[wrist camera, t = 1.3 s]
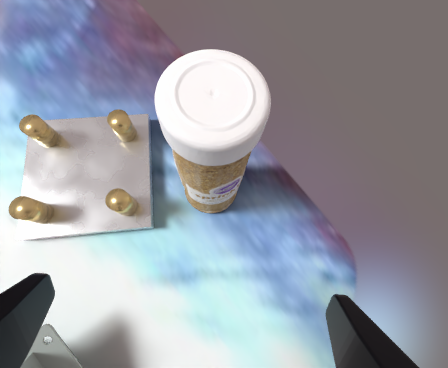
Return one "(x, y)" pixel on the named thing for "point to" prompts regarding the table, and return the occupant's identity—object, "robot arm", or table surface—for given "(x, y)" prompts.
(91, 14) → the table surface
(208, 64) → the sprinkles bottle
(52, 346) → the metal bracket
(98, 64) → the table surface
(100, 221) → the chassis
